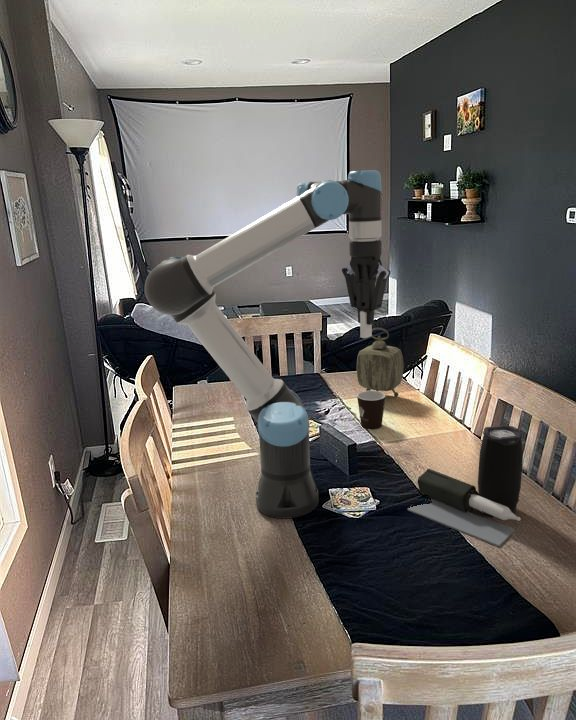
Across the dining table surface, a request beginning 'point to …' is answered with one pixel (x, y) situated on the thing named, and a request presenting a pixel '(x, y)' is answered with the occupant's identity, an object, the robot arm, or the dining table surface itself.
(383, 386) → the tabletop clock
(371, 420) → the coffee mug
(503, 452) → the portable speaker
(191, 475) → the dining table surface
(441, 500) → the candle
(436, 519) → the candle mat
